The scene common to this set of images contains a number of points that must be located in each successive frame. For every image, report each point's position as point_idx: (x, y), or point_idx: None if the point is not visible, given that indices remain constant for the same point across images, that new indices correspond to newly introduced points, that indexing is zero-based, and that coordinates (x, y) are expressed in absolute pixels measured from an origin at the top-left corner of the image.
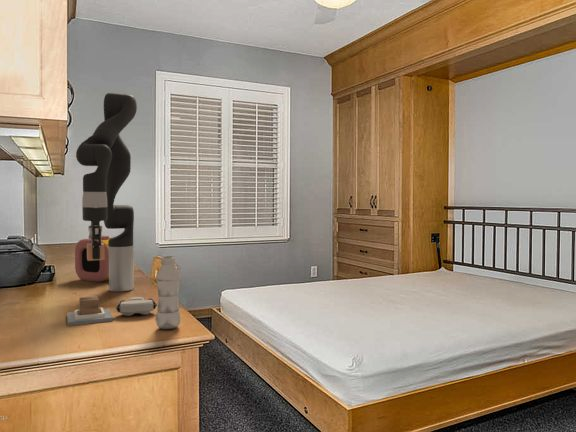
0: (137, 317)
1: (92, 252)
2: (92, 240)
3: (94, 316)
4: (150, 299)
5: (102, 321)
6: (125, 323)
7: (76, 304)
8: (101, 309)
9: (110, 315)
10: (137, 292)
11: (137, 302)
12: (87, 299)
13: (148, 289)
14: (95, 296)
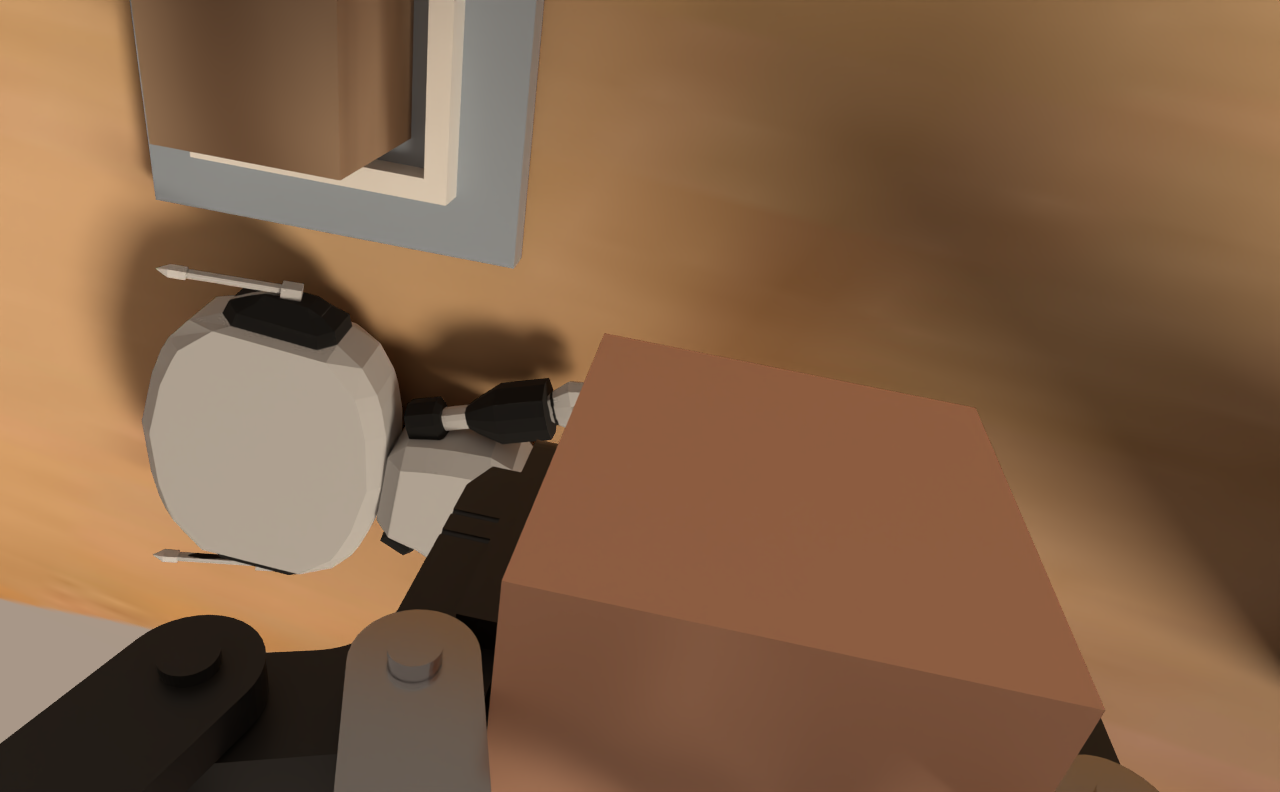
0: None
1: None
2: (65, 786)
3: None
4: None
5: None
6: (64, 248)
7: (1093, 64)
8: (361, 173)
9: (234, 203)
10: (1153, 687)
11: (208, 454)
12: (188, 27)
13: (1198, 784)
14: (329, 156)
